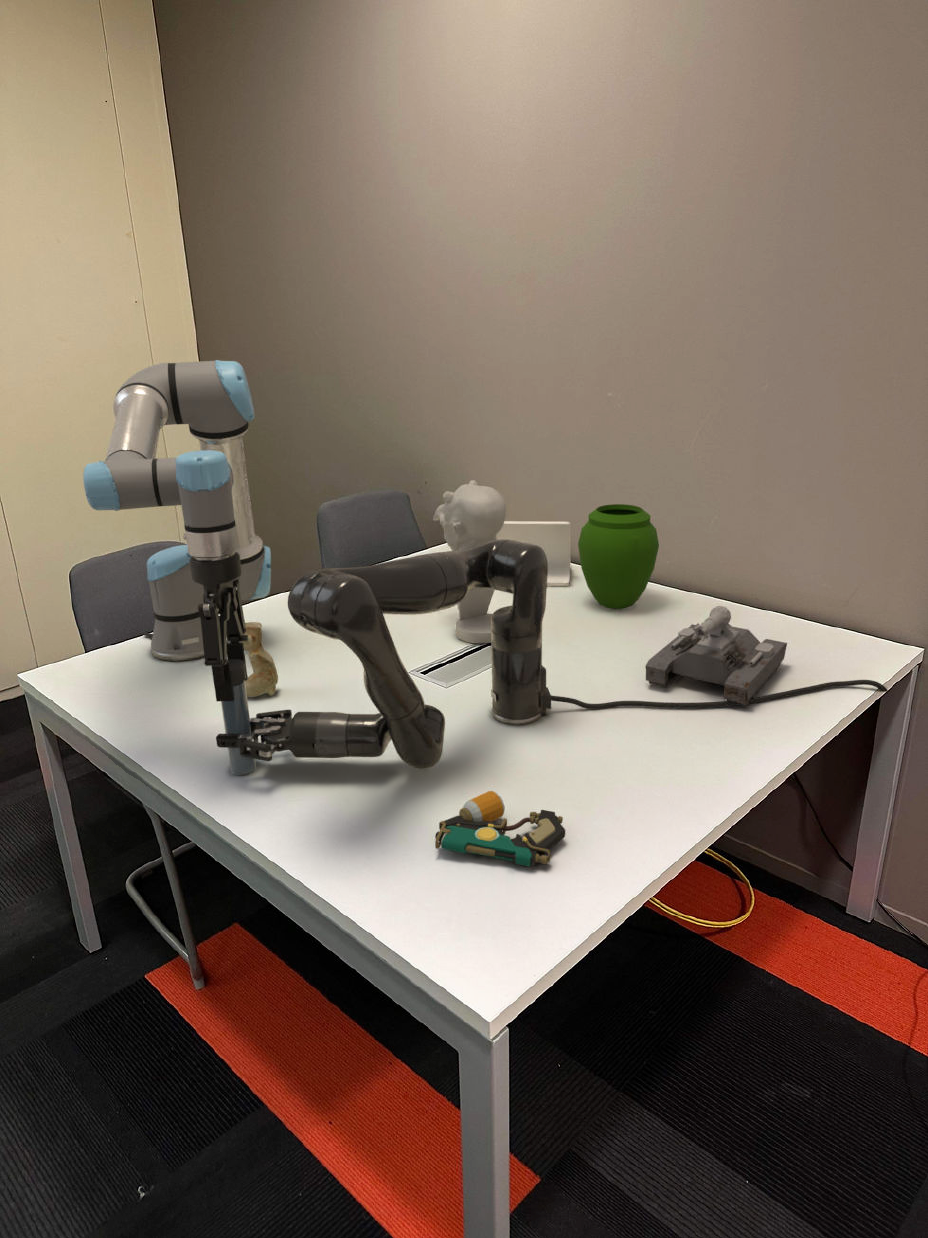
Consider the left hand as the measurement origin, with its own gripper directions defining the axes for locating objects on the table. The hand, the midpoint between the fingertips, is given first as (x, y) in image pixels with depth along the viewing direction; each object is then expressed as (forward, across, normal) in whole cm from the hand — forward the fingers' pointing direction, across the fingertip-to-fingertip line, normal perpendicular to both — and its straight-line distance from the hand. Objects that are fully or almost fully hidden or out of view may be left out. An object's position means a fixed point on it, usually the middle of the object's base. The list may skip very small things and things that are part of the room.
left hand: (232, 689), depth 139 cm
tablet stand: (+15, -104, +51) cm, 117 cm away
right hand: (+8, 0, -3) cm, 9 cm away
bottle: (+15, 0, 0) cm, 15 cm away
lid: (-4, 0, 0) cm, 4 cm away
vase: (+15, -78, +73) cm, 108 cm away
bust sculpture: (+15, -62, +37) cm, 74 cm away
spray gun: (+15, +21, +43) cm, 51 cm away
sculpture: (+15, -29, -4) cm, 33 cm away
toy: (+15, -34, +88) cm, 95 cm away
